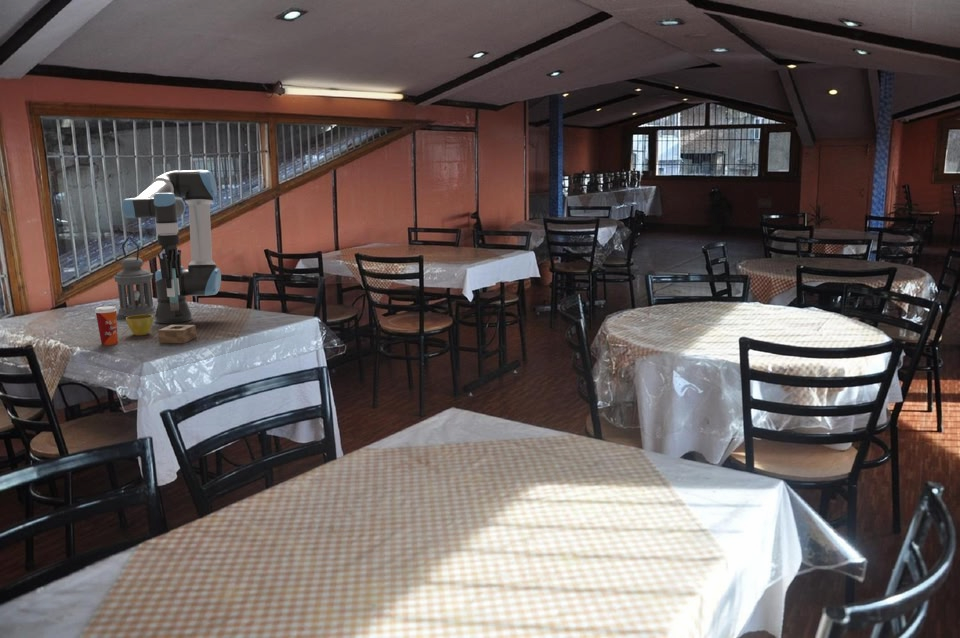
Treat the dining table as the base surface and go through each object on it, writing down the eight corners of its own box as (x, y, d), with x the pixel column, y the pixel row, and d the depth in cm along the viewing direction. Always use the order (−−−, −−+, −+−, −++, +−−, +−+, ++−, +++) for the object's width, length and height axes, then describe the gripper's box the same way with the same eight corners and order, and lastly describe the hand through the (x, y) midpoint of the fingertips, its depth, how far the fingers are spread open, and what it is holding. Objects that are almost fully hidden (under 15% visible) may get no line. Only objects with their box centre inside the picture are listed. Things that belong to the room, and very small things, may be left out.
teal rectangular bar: (173, 309, 305) (169, 268, 302) (180, 309, 304) (176, 268, 301) (169, 310, 302) (165, 269, 299) (176, 310, 301) (172, 269, 298)
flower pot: (141, 330, 324) (139, 313, 323) (160, 332, 321) (158, 315, 319) (122, 336, 315) (120, 318, 314) (141, 337, 312) (139, 319, 310)
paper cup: (112, 346, 297) (107, 309, 295) (94, 345, 299) (89, 309, 296) (125, 341, 305) (121, 306, 302) (107, 341, 306) (103, 305, 304)
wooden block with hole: (172, 337, 311) (171, 324, 310) (196, 337, 310) (195, 324, 309) (159, 342, 301) (158, 330, 300) (184, 343, 300) (182, 330, 299)
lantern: (164, 309, 371) (157, 235, 364) (141, 316, 355) (133, 238, 348) (133, 308, 375) (125, 235, 368) (109, 315, 359) (100, 238, 353)
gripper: (169, 232, 306) (174, 292, 310) (147, 236, 290) (153, 299, 295) (187, 232, 305) (193, 292, 309) (166, 236, 289) (172, 299, 294)
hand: (173, 295), depth 302 cm, fingers closed on teal rectangular bar, 3 cm apart
